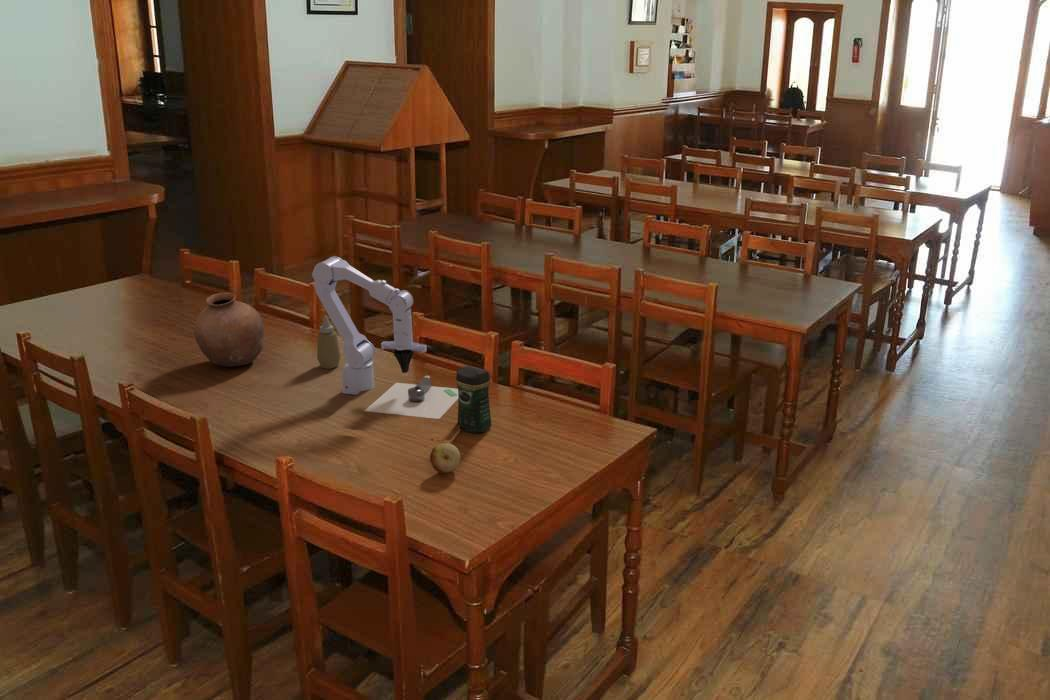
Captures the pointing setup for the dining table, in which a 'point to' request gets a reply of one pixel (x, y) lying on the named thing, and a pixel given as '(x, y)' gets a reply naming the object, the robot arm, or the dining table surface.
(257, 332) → the pottery
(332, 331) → the squeeze bottle
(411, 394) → the grey measuring scoop
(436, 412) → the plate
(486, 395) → the coffee jar
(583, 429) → the dining table surface
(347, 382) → the robot arm
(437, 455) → the fruit
